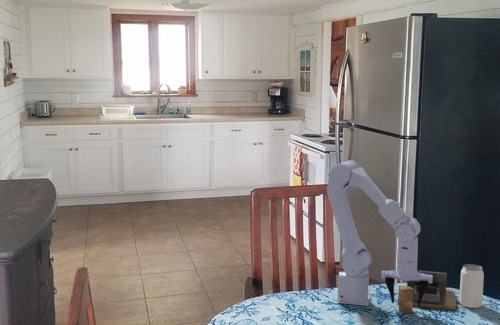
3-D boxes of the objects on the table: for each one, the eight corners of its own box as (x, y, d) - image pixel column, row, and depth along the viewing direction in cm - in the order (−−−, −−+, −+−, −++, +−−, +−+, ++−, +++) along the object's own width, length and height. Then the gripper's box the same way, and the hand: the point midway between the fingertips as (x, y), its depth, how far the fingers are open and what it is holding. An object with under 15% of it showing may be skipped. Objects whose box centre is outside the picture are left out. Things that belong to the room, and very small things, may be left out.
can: (483, 309, 166) (486, 271, 164) (461, 308, 167) (463, 270, 166) (479, 301, 172) (481, 264, 171) (457, 299, 174) (459, 263, 172)
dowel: (398, 312, 165) (399, 290, 164) (398, 307, 168) (399, 285, 167) (412, 314, 164) (413, 291, 162) (412, 308, 167) (413, 286, 166)
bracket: (397, 304, 170) (398, 282, 169) (399, 289, 183) (399, 268, 182) (456, 310, 166) (457, 287, 164) (453, 294, 178) (454, 273, 177)
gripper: (381, 261, 162) (380, 305, 164) (433, 266, 158) (431, 311, 160) (382, 254, 168) (381, 296, 171) (432, 258, 164) (431, 301, 166)
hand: (405, 303), depth 166 cm, fingers open, 7 cm apart
